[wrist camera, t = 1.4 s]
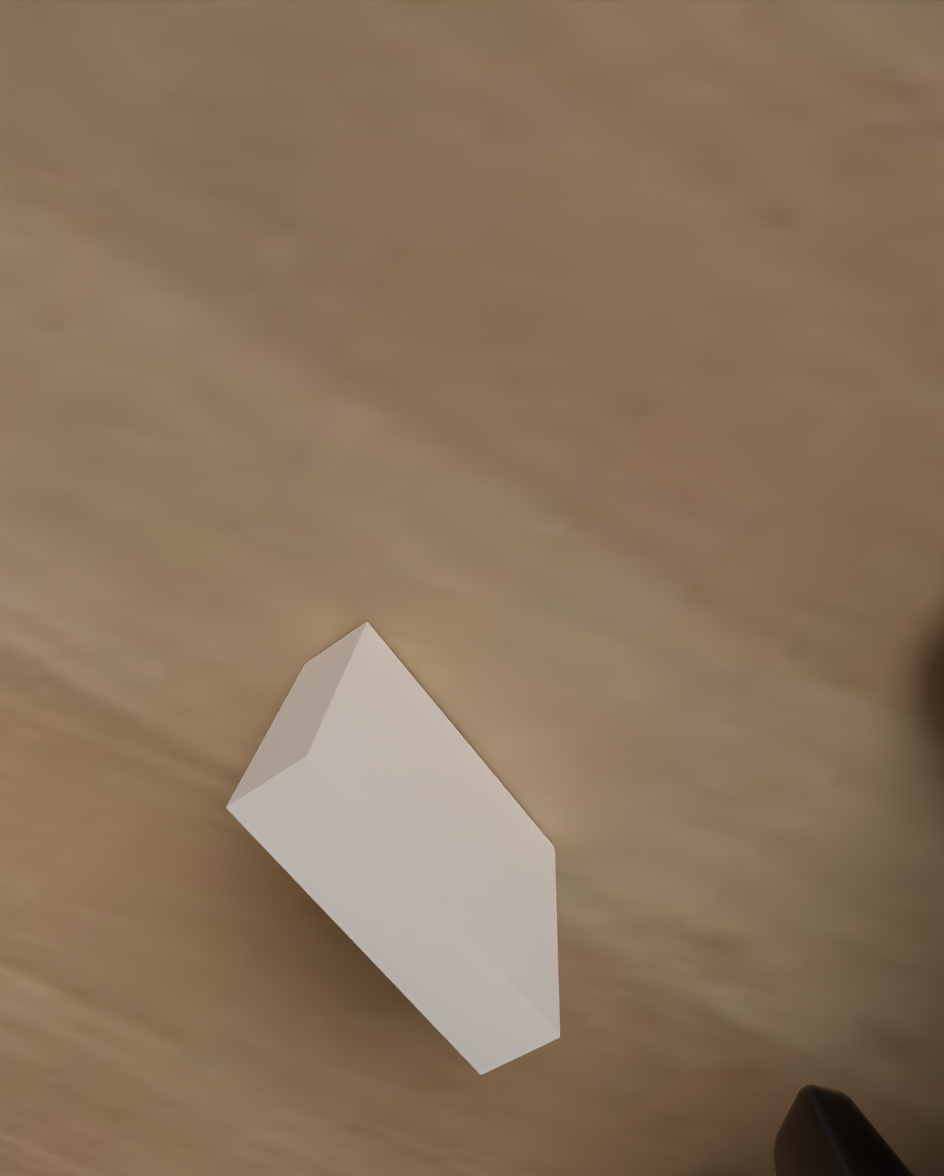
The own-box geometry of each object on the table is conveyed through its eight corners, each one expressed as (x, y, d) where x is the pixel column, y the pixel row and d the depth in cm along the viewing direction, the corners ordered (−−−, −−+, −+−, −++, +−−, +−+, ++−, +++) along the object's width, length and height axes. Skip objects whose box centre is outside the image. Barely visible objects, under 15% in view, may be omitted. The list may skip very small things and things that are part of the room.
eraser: (367, 618, 13) (305, 756, 9) (557, 845, 14) (562, 1039, 11) (303, 661, 13) (221, 810, 10) (493, 879, 14) (479, 1078, 11)
